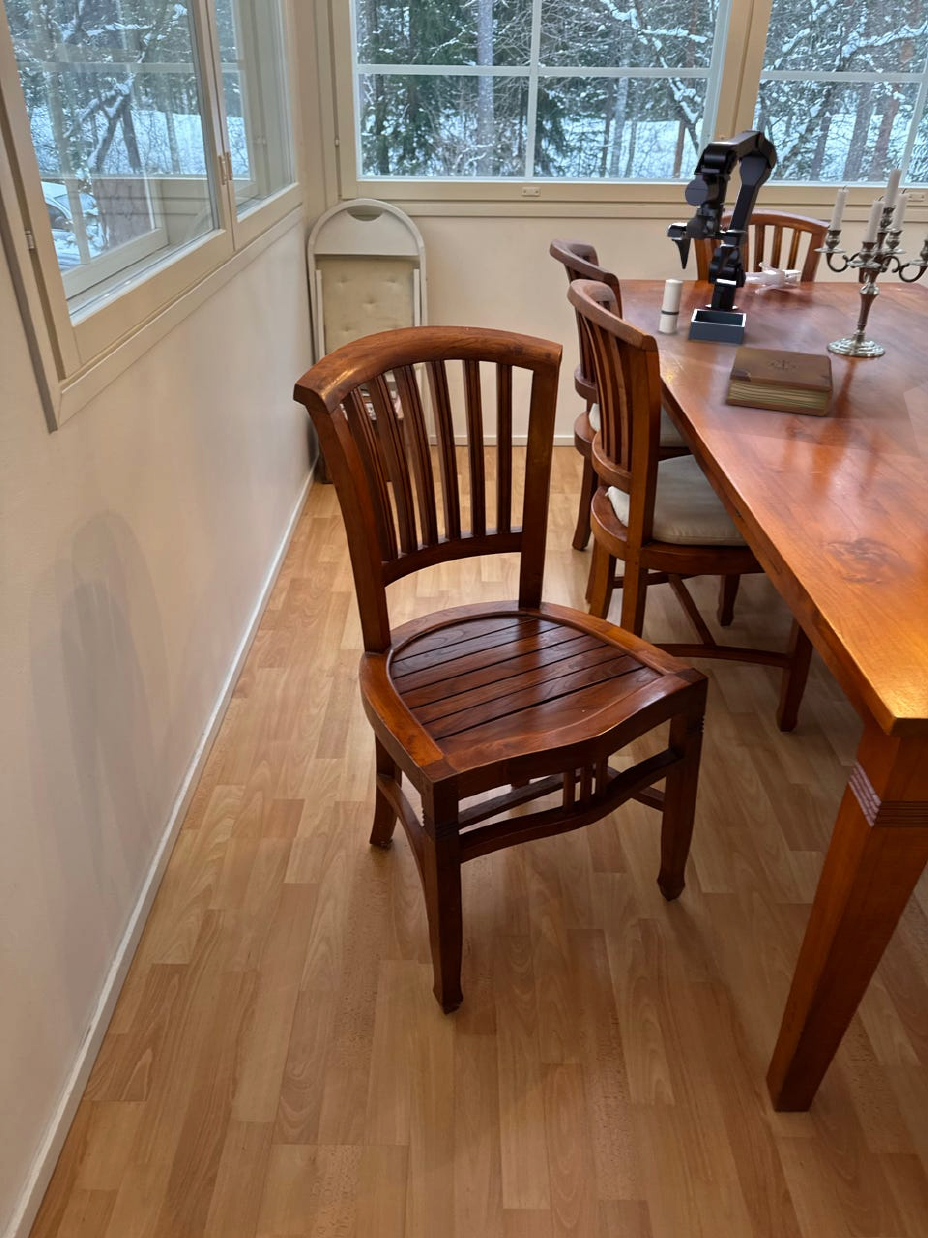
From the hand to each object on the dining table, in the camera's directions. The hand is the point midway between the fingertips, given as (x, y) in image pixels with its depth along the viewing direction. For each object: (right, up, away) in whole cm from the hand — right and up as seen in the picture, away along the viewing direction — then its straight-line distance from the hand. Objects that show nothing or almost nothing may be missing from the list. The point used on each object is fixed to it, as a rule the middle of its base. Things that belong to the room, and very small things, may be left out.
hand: (701, 271), depth 218 cm
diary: (+4, -42, -42) cm, 60 cm away
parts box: (+2, -19, -7) cm, 20 cm away
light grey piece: (-9, -17, -4) cm, 20 cm away
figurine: (+29, +10, +40) cm, 50 cm away
